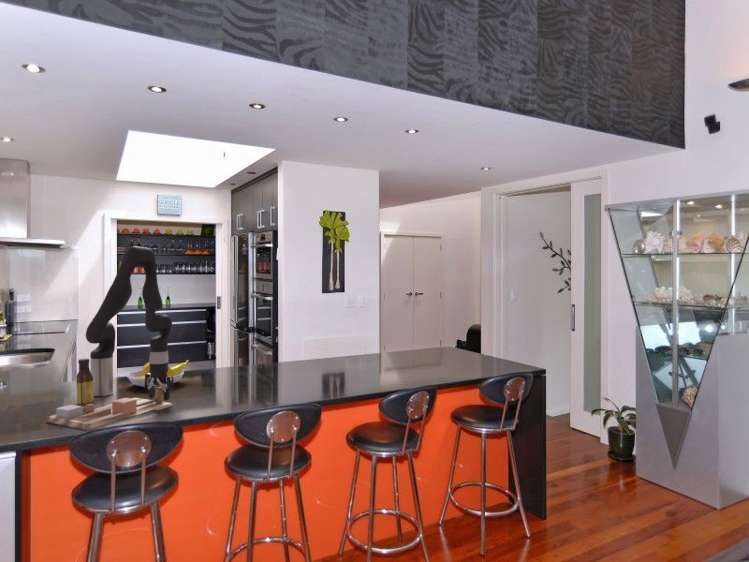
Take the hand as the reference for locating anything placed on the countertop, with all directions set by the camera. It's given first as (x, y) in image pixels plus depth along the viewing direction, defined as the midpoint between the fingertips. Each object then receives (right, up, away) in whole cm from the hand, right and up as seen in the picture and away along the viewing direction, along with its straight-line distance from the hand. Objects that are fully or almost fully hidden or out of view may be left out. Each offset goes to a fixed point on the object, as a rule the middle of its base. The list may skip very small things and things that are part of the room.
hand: (159, 399), depth 224 cm
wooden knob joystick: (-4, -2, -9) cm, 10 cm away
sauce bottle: (-31, -2, -2) cm, 31 cm away
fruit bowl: (-15, -2, +37) cm, 40 cm away
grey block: (-21, -2, -23) cm, 32 cm away
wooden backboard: (-12, -3, -15) cm, 19 cm away
